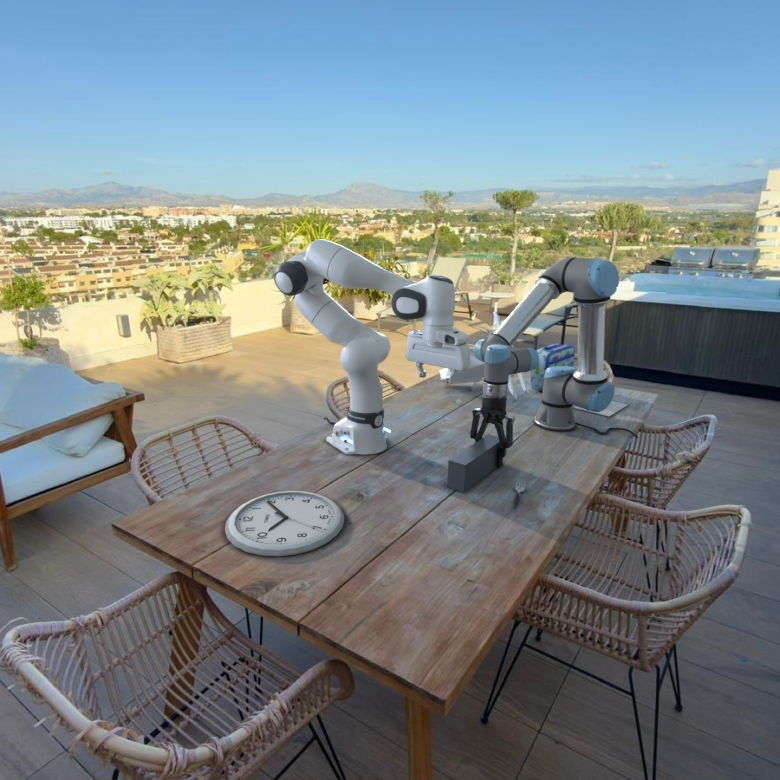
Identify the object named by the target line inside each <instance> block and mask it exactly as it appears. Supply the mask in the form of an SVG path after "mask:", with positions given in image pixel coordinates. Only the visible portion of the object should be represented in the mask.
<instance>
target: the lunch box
mask: <svg viewBox="0 0 780 780" xmlns="http://www.w3.org/2000/svg"><path fill="white" fill-rule="evenodd" d="M536 351H537V353H538V355H539V364H538V366H537V367H536V368H535V369H534V370H531V371H530V372H531V374H530V387H531V389H533V390H539V391H543V380H544V379H543V378H544V375H545V370H546V369H547V368H549V367H555V366H570V367H574V363H575V352H576V351H575V346H573V345H568V344H562V343H553V344H550V345H547V346H546V345H545V346H544V347H541V348H538V349H537V350H536Z"/></svg>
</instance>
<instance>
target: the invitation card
mask: <svg viewBox="0 0 780 780" xmlns="http://www.w3.org/2000/svg"><path fill="white" fill-rule="evenodd" d="M628 406H629V404H627V403H623V402H618V401H614V400H612V401H611V403H610V404H609V406H608V407H607V408H606V409H604V410H603V411H601V412H593V411H588V410H586V409H583V408H580V407H577V406H574V407H573V409H575V410H581V411H584V412H587V413H593V414H596V415H600V416H604V417H608V418H609V417H611V416H613V415H614V414H616V413H617V412H619V411H621V410H623V409H624V408H626V407H628Z"/></svg>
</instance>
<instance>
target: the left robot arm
mask: <svg viewBox="0 0 780 780" xmlns="http://www.w3.org/2000/svg"><path fill="white" fill-rule="evenodd" d="M306 248H307V249H306V250H303V251H301V252H299V253H297V254H295V255H294V256H292V257H290V258H289V259H287V260H286V261H284V262H281V263H280V264H279V265H278V266H277V267H276V269H275V270H274V272H273V280H274V284H275V286H276V288H277V289H278V291H279V292H280V293H282V294H284V295H285V296H288V297H292V296H294V299H293V301H294V305H295V307H296V309H298V311H299V313H301V315H302V316H303V317H304V318H305V319H306V320H307V321H308V322H309V323H310V324H311V325H312V326H313V327H314V328H315V329H316V330H317V331H318V332H319V333H320V334H321V335H322V336H324V338H326V339H327V340H328V341H330V342H331V343H333V344H337V345H339V346H341V347H343V349H342V350H341V352H340V354H339V363H340V365H341V367H342V369H343V371H345V373H346V376H347V380H348V384H349V406H348V407H344V412H347V413H346V416H344V417H343V418H341V419H338V421H337V422H334V421H332V420H331V421H330V419H329V417H327V416H325V417H323V420H324V421H325V420H326V422H327V423H328V424H330V425H333V428H332V433H331V434H329V435H328V436H327V437H326V438H325V441H326V442H327V443H328V444H330V446H333V447H334V448H336V449H337V450H339V451H340V452H342V453H343V454H345V455H347V456H348V455H350V456H352V455H363V456H365V455H366V456H367V455H376V454H379V453H382V452H384V451H386V449H387V447H388V445H387V444H388V443H387V436H386V434H385V432H387V433H389V434H391V433H392V432H391V429H389V428H387V427H385V423H384V422H385V421H384V419H385V408H384V405H383V403H384V401H383V400H384V386H383V384H382V382H381V380H380V376H379V365H380V364H382V363H383V362H384V361H386V359H387V357H388V356H389V354H390V352H391V348H392V347H391V341H390V339H389V337H387V336H386V335H385V334H384V333H382V332H379V331H376V330H374V329H373V328H372V327H370V326H368V325H367V324H365V323H363V322H362V321H361V320H359V319H357V318H356V317H354V316H353V315H352V314H351V313H349V312H348V311H347V310H346V309H345V308H344V307H343V306H341V305H340V304H339V303H338V301H336V300H335V299H334V298H333V297H332V296H330V295H329V293H327V291H326V290H325V288H324V286H325V285H327V284H328V283H329V282H331V283H333V284H335V285H337V286H339V287H341V288H346V289H350V290H359V289H371V290H372V289H374V290H379V291H382V292H385V293H387V294H389V295H391V296H392V297H391V301H390V302H391V303H390V305H391V309H392V312H393V313H394V315H395V316H396V317H397V318H398V319H400V320H403V321H412V320H413V321H414V320H422V330H416V329H412V330H410V331H409V332H408V333H407V339H406V341H407V343H406V347H405V348H406V349H405V358H406V360H407V361H409V362H412V363H413V362H414V363H415V367H416V369H417V371H418V377H419V378H424V379H425V378H426V377H427V371H426V370H424V367H423V366H424V365H428V366H434V367H439V368H442V369H444V368H449V369H450V372H452V373H451V374H450V376H448V377H446V383H449V384H450V385H453V384H452V383H453V380H454V376H455V375H456V373H457V372H458V370H459V371H464V370H466V369H468V367H469V366H470V348H469V347H470V345H469V344H468V342H469V341H470V336H469V334H467V333H465V332H464V331H461V330H460V329H458V328H456V327H455V321H454V312H455V309H456V290H455V289H456V288H455V283H454V281H453V280H452V279H451V278H449V277H447V276H443V275H438V274H429V275H427V276H426V277H425V278H424V279H422V280H420V281H413V280H410V279H408V278H406V277H403V276H401V275H399V274H397V273H395V272H393V271H391V270H388V269H386V268H383V267H382V266H380V265H378V264H376V263H374V262H372V261H370V260H369V259H367V258H365V257H363V256H362V255H360V254H358V253H357V252H354V251H353V250H351V249H350V248H347V247H345V246H343V245H341V244H339V243H336V242H333V241H330V240H328V239H323V238H317V239H315V240H313V241H312V242H310V243H309V245H308V246H307V247H306Z"/></svg>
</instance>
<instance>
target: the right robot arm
mask: <svg viewBox="0 0 780 780" xmlns="http://www.w3.org/2000/svg"><path fill="white" fill-rule="evenodd" d="M619 284H620V274H619V270H618V267H617V266H616V265H615V264H614V263H613V262H612V261H611V260H607V259H602V258H588V257H575V256H574V257H573V256H571V257H570V256H569V257H566V258H563V259H561V260H559V261H556V262H555V263H553V264H552V265H551V266H549V267H548V268H547V269H545V270H544V271H543V272H542V273H541V274H540V275H539V276H538V277H537V279H536V280H535V281H534V286H533V287H532V289H531V290H530V291H529V292H528V293H527V294H526V295H525V297H523V299H522V300H521V301H520V302H519V303H518V304H517V306H515V309H513V310H512V312H511V313H510V314H509V315H508V316H507V317H506V318H505V319H504V321H503V322H501V325H500V327H499V328H497V329H496V330H495V331H494V332H493V333H492V335H490V337H489V338H488V339H487V338H481V339H479V340H478V341H477V342H476V343H475V345H474V346H475V347H474V346H473V347H474V355H475V357H476V358H477V359H478V360H480V361H482V362H484V363H485V366H484V377H483V383H482V396H481V407H480V408H478V407H476V408H473V410H472V411H471V413H472V422H471V428H470V434H469V438H470V439H472V440H474V443H476V442H477V441H479V440H480V439H482V438H483V437H484V434H485V432H486V430H487V427H488V425H489V424H492V425H494V428H495V430H496V434H497V437H498V438H499V443H500V447H499V448H498V455H497V466H496V468H498V469H499V468H500V467H501V466H503V461H504V458H505V457H506V455H507V449H511V447H512V446H513V445H514V423H515V420H516V419H515V418H516V417H515V416H513V415H512V416H510V415H508V414H507V400H508V397H507V395H508V392H509V391H508V390H509V387H508V380H509V375H511V376H512V375H516V374H518V373H522V372H523V373H528V372H532V370H534V369H535V368H536V367H537V366H538V364H539V355H538V353H537V350H536V349H534V348H533V347H525V346H524V347H522V348H521V347H517V346H514V345H515V344H516V342H517V341H518V340H519V339H520V338H521V336H522V335H523V334H524V333H525V332H526V331H527V330H528V328H529V327H530V326H531V325H532V323H533V322H534V321H535V320H536V319H537V318H538V316H540V314H541V313H542V312H543V311H544V310H545V309H546V308H547V306H548V305H549V304H550V303H551V301H552V300H556V299H558V298H559V297H560V296H561V295H562V294H564V293H573V295H572V297H573V302H574V303H575V304H576V305H577V367H575V366H573V367H570V366H555V367H549V368H547V369H546V370H545V375H544V378H543V379H544V380H543V390H541V391H542V392H541V402H540V405H539V407H538V410H537V411H536V413H535V415H534V417H533V418H534V424H535V425H536V426H537V427H539V428H542V429H544V430H549V431H556V432H567V431H572V430H574V429H575V428H576V426H580V427H583V428H586V429H590V430H593V431H595V432H597V434H599V435H607V434H609V432H610V431H612V430H613V431H624V432H628V433H629V434H631V435H632V436H634V438H635V439H639V437H638V435H637V434H636V433H634V432H633V431H632V430H630V429H628V428H624V427H608V428H607V429H606V431H600V430H599V429H597V428H596V427H592V426H590V425H586V424H582V423H579V422H576V418H575V417H576V416H575V413H574V407H576V406H577V407H580V408H583V409H586V410H588V411H593V412H601V411H603V410H604V409H606V408H607V407H608V406H609V404H610V403H611V401H613V399H614V396H615V392H616V389H615V385H614V384H613V383H612V382H611V381H608V380H609V374H608V372H607V371H606V370H605V369H604V359H605V356H604V355H605V328H606V327H605V326H606V304H607V303H608V302H609V301H610V300H611V297H612V296H613V295H614V294H615V293H616V292H617V289H618V287H619ZM512 345H513V346H514V347H513V346H512ZM573 406H574V407H573ZM588 411H587V412H588ZM481 416H482V418H483V419H482V421H481V424H480V419H481V418H480V417H481ZM504 419H505V429H504V421H503V420H504ZM479 425H480V426H479Z"/></svg>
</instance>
